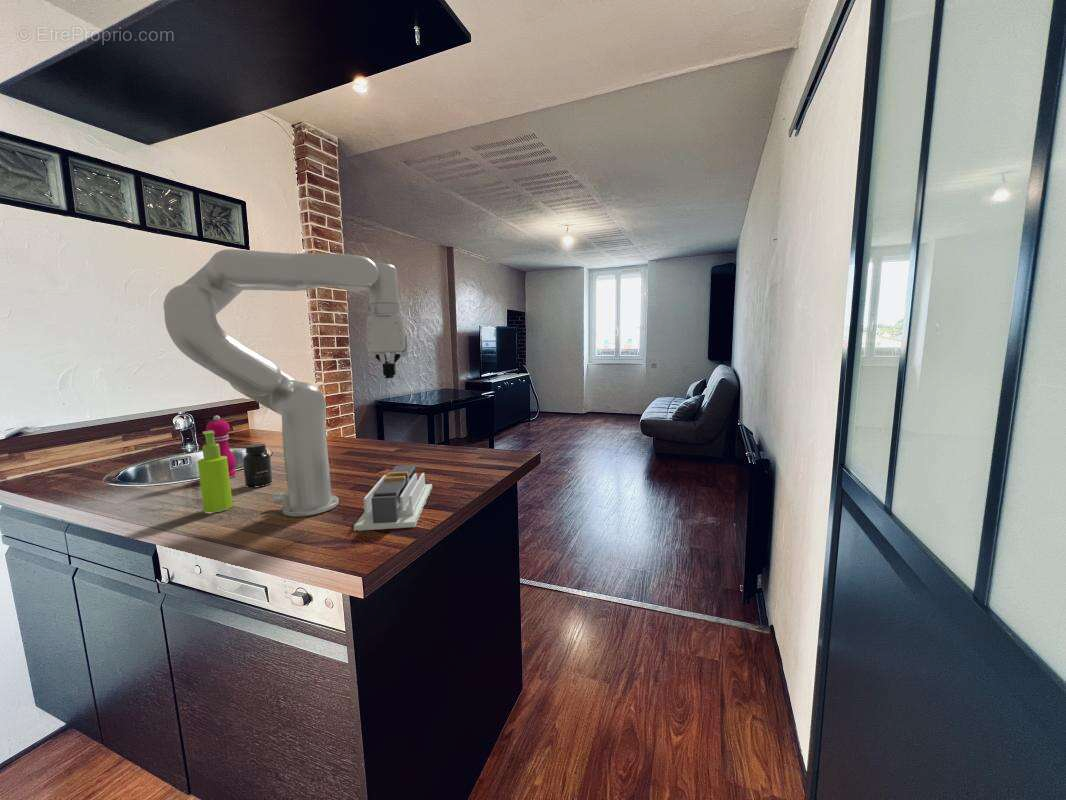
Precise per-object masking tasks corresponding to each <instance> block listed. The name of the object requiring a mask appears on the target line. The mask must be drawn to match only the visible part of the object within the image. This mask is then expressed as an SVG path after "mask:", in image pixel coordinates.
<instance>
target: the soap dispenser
mask: <svg viewBox="0 0 1066 800" xmlns="http://www.w3.org/2000/svg"><path fill="white" fill-rule="evenodd" d="M202 434H203V435H204V437H205V444H203V445H202V447H201V448H202V456H203V458H201V459H199V460H197V468H198V475H199V483H200V490H201V498H202V499H201V500H202V506H203V512H204V511H206V512H215V511H221V510H224V509H227V508H230V507H231V506H232V505H233V504H234V502H233V496H232V488H231V478H229V470H228V462H227V457H226V456H221V455H220V447H219V444H217V443H215V441H214V435H215V432H214V431H213V430H211V431H206V430H205V431H202ZM233 506H234V505H233Z"/></svg>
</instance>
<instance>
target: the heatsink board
mask: <svg viewBox="0 0 1066 800" xmlns="http://www.w3.org/2000/svg"><path fill="white" fill-rule="evenodd" d="M425 475H426V474H425V472H422V473H421V474H420V476H419V478H418V473H417V465H415V469H414V471H413V472H412V473H411V475H410V476H409V477H408V479H406V483H405V484H404V486H403V487H402V489H401V490H400V492H399V494H398V495H397V497H396V495H394V496H376V497H373V493H374V492H375V491H376V489H377V488H378V487H379V486H380V484H381V483H382V482H383V478H384V477H387V474H384V475H383V476H382V477H381V478H380V479H379V481H377V483H375V485H374V486H373V487H372V488H371V490H370V491H368V493H367V494H366V495H365V497H363V507H364V510H363V511H364V512H363V513H362V514H361V516H360V517H359V518H358V520H357V521H356V522H355V523H354V524H353V531H354V532H356V530H358V531H371V530H372V531H374V530H386V529H387V530H389V529H404V528H416V525H417V523H418V522H417V521H419V519H420V517H421V515H422V513H423V510H424V508H423V507H425V506H424V505H426V503H427V501H428V499H427V498H429V497H428V496H430V495H431V492H432V490H433V483H428V484H427V483H426V478H425V477H426V476H425ZM431 489H432V490H431ZM430 491H431V492H430ZM426 500H427V501H426ZM420 514H421V515H420Z"/></svg>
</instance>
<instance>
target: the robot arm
mask: <svg viewBox="0 0 1066 800" xmlns="http://www.w3.org/2000/svg"><path fill="white" fill-rule="evenodd" d="M398 284H399V283H398V272H397V268H396V267H395V266H394V265H393V264H389V263H385V262H384V263H381V262H380V263H379V262H378V263H377V262H376V263H375V262H374V261H373V260H371V259H370V258H369V257H367V256H363V255H353V254H344V253H343V254H342V253H302V252H301V253H290V252H289V253H288V252H274V251H273V252H272V251H259V250H247V249H246V250H245V249H233V248H232V249H231V248H230V249H229V248H228V249H221V250H219V251H217V252H215V253H214V254H213V255H212V257H210V259H209V260H208V261H207V263H206V264H204V266H202V267H201V268H200V269H199V270H198V271H197V272H195V273H194V274H193V275H192V276H191V277H190V278H188V279H187V280H186V281H185V282H183V283H182V284H179V285H177V286H174V287H173V288H171V289H170V290H169V291H168V292H167V294H166V295H165V297H164V301H163V303H162V305H163V312H164V323H165V327H166V330H167V333H168V335H169V337H170V339H171V341H172V342H173V344H174V345H175V346H176V347H177V349H178V350H180V352H181V353H182V354H183V355H185V356H186V357H187V358H189V359H190V360H191V361H193V362H194V363H196V364H198V365H199V366H201V367H202V368H204V369H206V370H208V371H209V372H210V373H212V374H214V375H216V376H218V378H221V379H222V380H225V381H226V382H228V383H229V385H230V386H231V387H232V388H233V389H234V390H235V391H236V392H238V393H240V394H242V395H244V396H245V397H248V398H249V399H251V400H252V401H255V402H256V403H257V404H259V405H261V406H263V407H266V409H269V410H271V411H273V412H274V413H275V414H276V413H277V414H278V415H280V416H281V441H282V449H283V458H284V467H285V476H286V477H285V478H286V486H287V491H286V492H274V493H273V494H272V502H273V504H277V503H278V504H279V503H280V504H281V503H283V504H284V505H283V506H282V509H281V510H282V514H283V515H285V516H288V517H295V518H296V517H297V518H298V517H308V516H314V515H318V514H322V513H325V512H328V511H331V510H332V509H334V508H336V507H337V506H338V505H339V503H340V500H339V497H338V496H336V495H335V494H332V485H331V476H330V473H331V472H330V464H329V452H328V443H327V442H328V441H327V430H326V428H327V427H326V422H327V420H326V419H327V401H326V398H325V395H324V393H323V392H322V391H321V390H320V389H319V387H317V386H315V385H314V384H312V383H308V382H304V381H299V380H297V379H295V378H293V377H291V376H290V375H289V374H287V373H285V372H283V371H282V370H281V369H280V367H279V366H278V365H277V364H276V363H275V362H274V361H273V360H271V359H269V358H267V357H265V356H263V355H262V354H260V353H259V352H257V351H255V350H253V349H252V348H251V347H248V346H247V345H245V344H244V343H242V342H240V341H239V340H238V339H237V338H235V337H233V336H232V335H230V334H229V333H227V331H225V330H224V329H223V328H222V327H221V325H220V324H219V322H218V319H217V315H218V314H219V313H220V312H221V311H222V310H223V309H225V308H226V307H227V306H228V305H229V304H230V303H231V302H232V301H233V300H234V299H235V298H236V297H238V295H240V294H241V292H243V291H278V292H279V291H281V292H282V291H283V292H288V291H289V292H290V291H291V292H299V291H308V290H313V289H317V288H325V287H328V288H329V287H339V288H340V289H342V290H343V291H346V292H347V291H348V292H366V291H368V294H369V295H368V296H369V306H365V307H364V312H365V313H369V315H368V316H367V318H366V328H365V331H366V333H365V335H366V336H365V337H366V338H365V339H366V340H365V343H366V345H365V346H366V351H368V353H367V357H368V358H372V359H377V361H378V362H380V363H381V364H382V374H383V376H384V378H385V379H387V380H388V379H394V378H395V376H396V363H397V362H398V361H399V360H400V358H405V357H408V356H409V352H408V342H407V341H408V340H407V331H406V327H405V322H404V318H403V316H402V315H400V302H399V301H400V298H399V287H398ZM388 353H389V361H388V357H387V354H388Z"/></svg>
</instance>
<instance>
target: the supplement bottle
mask: <svg viewBox="0 0 1066 800" xmlns="http://www.w3.org/2000/svg"><path fill="white" fill-rule="evenodd" d="M266 451H267V449H266V444H265V443H256V444H255V443H253V444H249V445H246V446H245V453H246V455H244V456H243V458H242V462H243V464H242V465H243V475H244V484H245V487H246V486H248V487H255V486H262V485H266V484H269V483H271V482H272V483H273V474H272V461H271V455H270V454H269V453H268V452H266ZM272 483H271V484H272ZM269 485H270V484H269ZM248 487H247V488H248Z"/></svg>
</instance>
